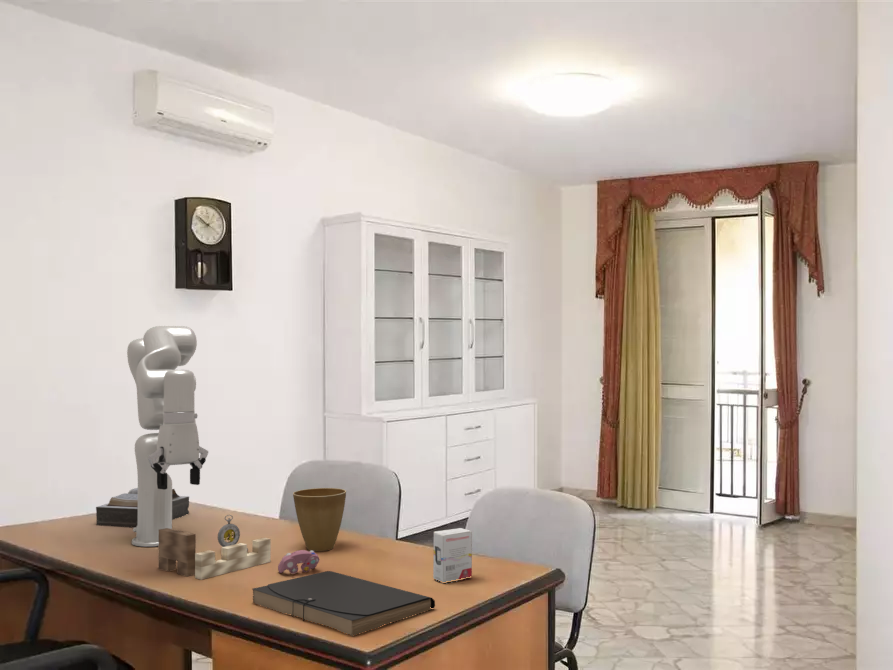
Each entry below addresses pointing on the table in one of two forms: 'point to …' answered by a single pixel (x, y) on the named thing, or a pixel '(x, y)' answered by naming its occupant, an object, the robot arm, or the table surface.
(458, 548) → the ink box
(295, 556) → the video game controller
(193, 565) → the walnut plate
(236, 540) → the pocket watch
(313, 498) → the plant pot
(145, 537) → the robot arm
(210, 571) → the wooden crenellated block
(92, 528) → the table surface
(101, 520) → the dark grey storage box
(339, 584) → the file folder
